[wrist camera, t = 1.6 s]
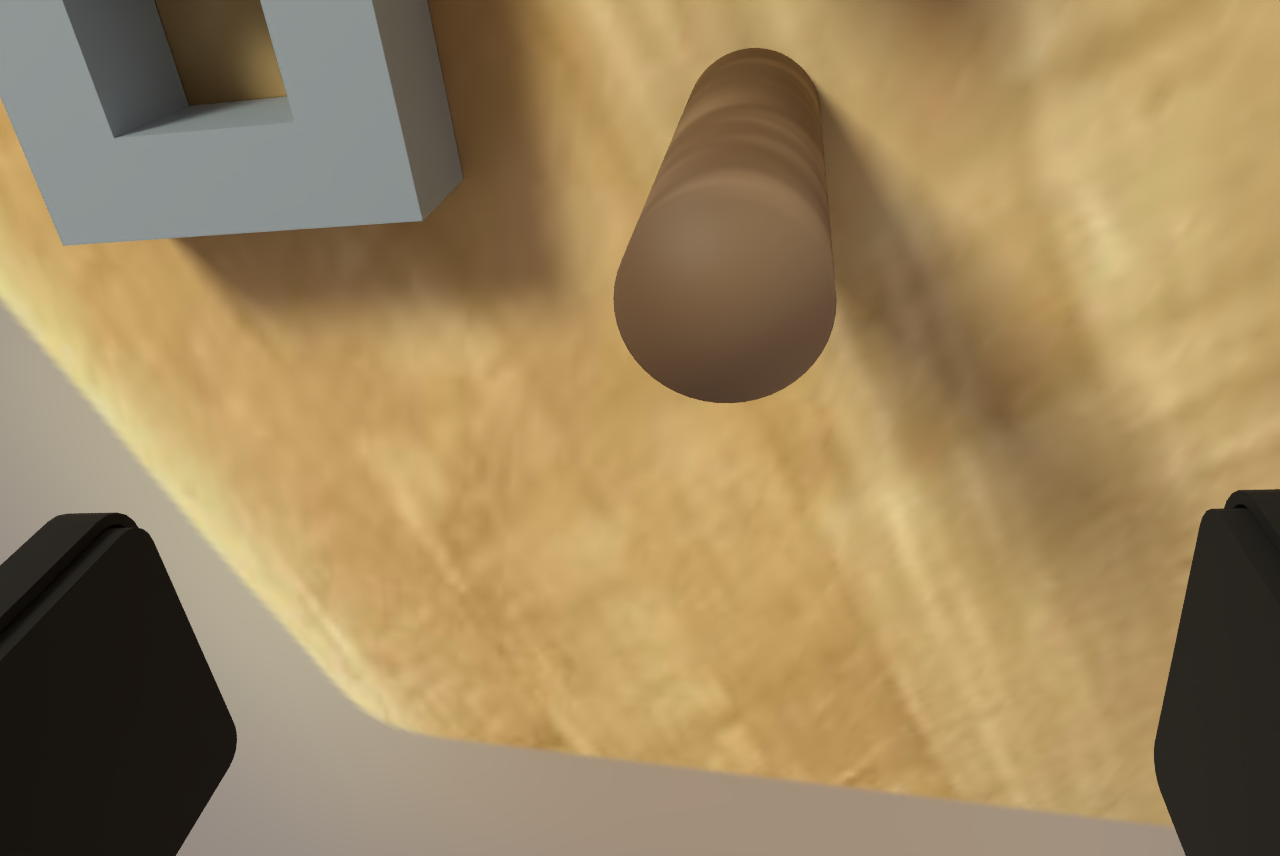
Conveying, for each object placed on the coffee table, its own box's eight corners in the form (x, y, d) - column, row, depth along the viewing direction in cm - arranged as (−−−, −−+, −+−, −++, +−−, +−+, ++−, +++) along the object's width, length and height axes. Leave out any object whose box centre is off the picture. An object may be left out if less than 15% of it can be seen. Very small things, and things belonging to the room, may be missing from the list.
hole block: (374, -259, 22) (308, -274, 19) (463, 179, 27) (422, 220, 24) (-11, -197, 24) (-126, -202, 21) (138, 204, 29) (63, 245, 26)
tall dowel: (818, 41, 24) (834, 189, 14) (821, 178, 26) (837, 399, 16) (681, 54, 25) (600, 205, 15) (692, 187, 26) (627, 406, 16)
